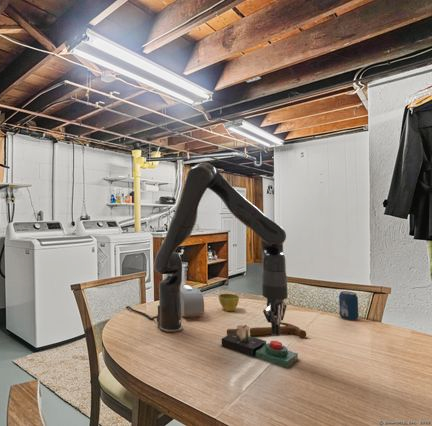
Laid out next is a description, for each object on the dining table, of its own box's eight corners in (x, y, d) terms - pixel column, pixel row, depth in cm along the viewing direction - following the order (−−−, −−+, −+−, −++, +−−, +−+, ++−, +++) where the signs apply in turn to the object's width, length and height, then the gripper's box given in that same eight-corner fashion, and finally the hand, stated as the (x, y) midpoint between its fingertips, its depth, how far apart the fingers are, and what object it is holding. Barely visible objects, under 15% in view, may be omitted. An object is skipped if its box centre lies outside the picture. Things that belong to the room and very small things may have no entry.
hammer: (234, 341, 117) (306, 337, 120) (233, 333, 118) (306, 329, 120) (220, 330, 129) (287, 327, 132) (220, 323, 129) (286, 320, 132)
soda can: (357, 317, 142) (356, 291, 142) (359, 322, 136) (358, 295, 136) (338, 315, 146) (338, 290, 146) (340, 319, 140) (339, 293, 140)
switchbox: (255, 357, 104) (255, 346, 104) (267, 350, 110) (267, 339, 110) (287, 368, 96) (286, 356, 96) (297, 359, 102) (297, 347, 102)
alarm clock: (204, 320, 142) (204, 291, 142) (184, 320, 142) (183, 292, 142) (193, 307, 163) (193, 282, 163) (175, 307, 163) (175, 282, 163)
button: (268, 347, 103) (268, 342, 103) (273, 344, 106) (272, 339, 106) (279, 351, 101) (279, 345, 101) (284, 348, 103) (283, 342, 103)
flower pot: (214, 307, 161) (214, 294, 161) (231, 306, 164) (231, 292, 164) (226, 313, 151) (225, 299, 151) (243, 311, 154) (243, 297, 154)
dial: (246, 343, 109) (246, 329, 109) (235, 339, 112) (234, 326, 112) (252, 339, 112) (251, 326, 112) (240, 336, 115) (240, 323, 115)
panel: (221, 346, 114) (221, 338, 114) (235, 339, 120) (235, 331, 120) (253, 357, 104) (253, 348, 104) (266, 349, 111) (266, 340, 111)
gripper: (277, 288, 96) (279, 343, 96) (294, 282, 105) (295, 332, 104) (254, 284, 102) (255, 336, 102) (271, 279, 110) (273, 326, 110)
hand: (276, 334), depth 103 cm, fingers closed
